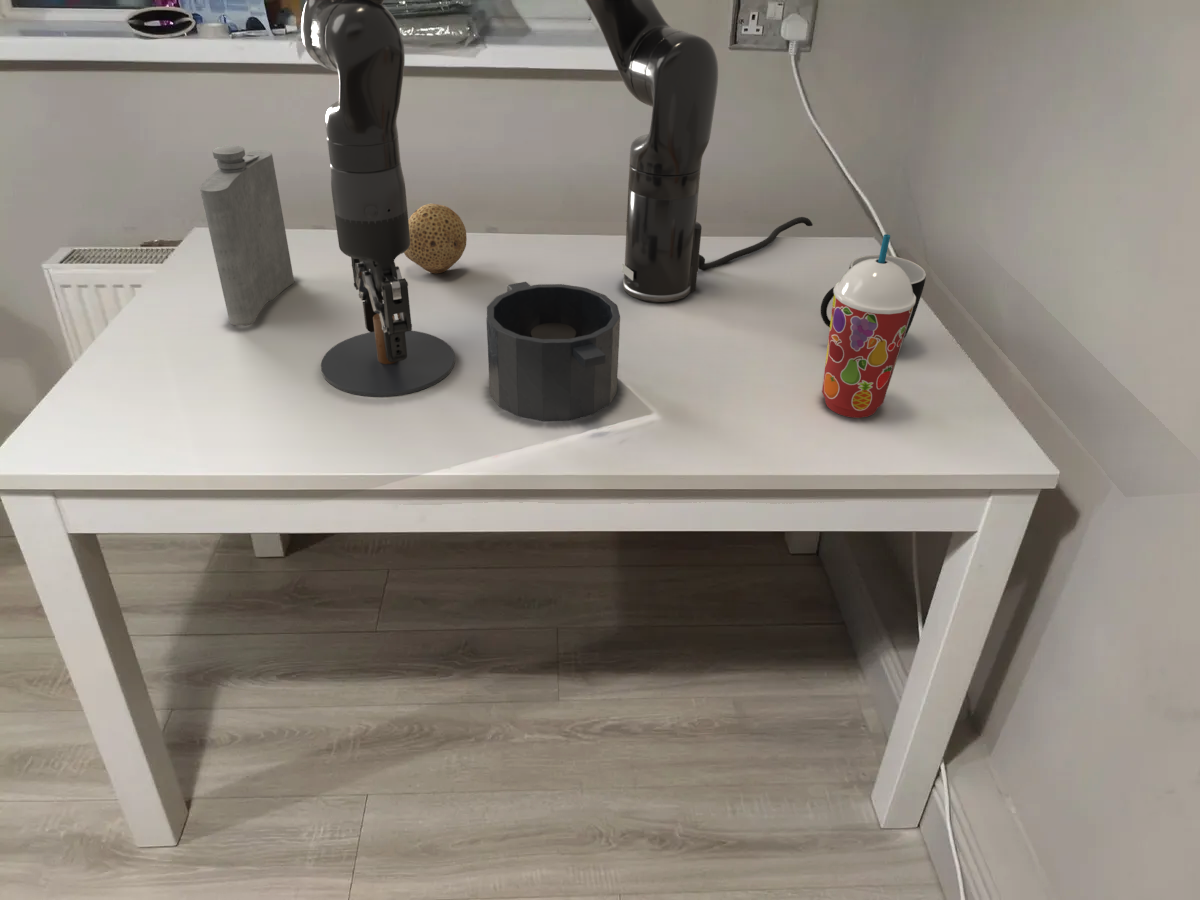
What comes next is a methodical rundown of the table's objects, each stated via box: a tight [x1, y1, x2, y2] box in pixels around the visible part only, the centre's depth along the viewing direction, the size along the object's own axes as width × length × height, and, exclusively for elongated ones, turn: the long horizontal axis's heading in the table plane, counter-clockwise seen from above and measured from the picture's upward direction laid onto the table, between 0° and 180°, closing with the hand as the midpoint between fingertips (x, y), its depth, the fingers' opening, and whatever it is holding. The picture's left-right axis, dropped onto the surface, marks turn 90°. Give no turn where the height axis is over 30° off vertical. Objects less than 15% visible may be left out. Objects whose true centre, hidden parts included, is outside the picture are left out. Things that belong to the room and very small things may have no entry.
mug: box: [820, 254, 927, 341], centre depth 112 cm, size 12×9×10 cm
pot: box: [485, 281, 621, 422], centre depth 101 cm, size 14×20×10 cm
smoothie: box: [821, 233, 916, 419], centre depth 97 cm, size 8×8×20 cm
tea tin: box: [530, 323, 576, 339], centre depth 101 cm, size 5×5×7 cm
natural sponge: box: [403, 203, 468, 274], centre depth 126 cm, size 9×9×10 cm
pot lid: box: [320, 314, 456, 398], centre depth 105 cm, size 15×15×7 cm
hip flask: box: [199, 144, 295, 327], centre depth 115 cm, size 16×4×20 cm, turn 175°
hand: (386, 344), depth 105 cm, fingers open, 7 cm apart
